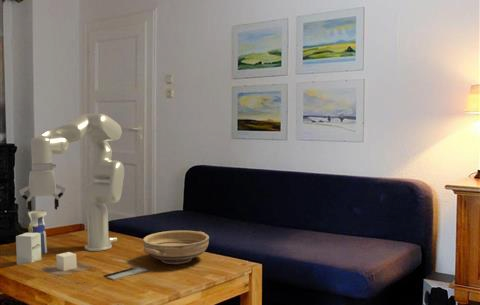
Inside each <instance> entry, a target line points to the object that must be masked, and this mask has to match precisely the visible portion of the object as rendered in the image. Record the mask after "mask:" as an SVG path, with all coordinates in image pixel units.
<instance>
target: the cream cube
mask: <svg viewBox="0 0 480 305" xmlns="http://www.w3.org/2000/svg"><path fill="white" fill-rule="evenodd" d="M55 256H56V265H57V269H60V270H63V271H66V270H70V269H74V268H77V262H78V260H77V253H74V252H70V251H67V252H63V253H59V254H58V253H57V254H56V255H55Z"/></svg>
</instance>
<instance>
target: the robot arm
mask: <svg viewBox="0 0 480 305" xmlns="http://www.w3.org/2000/svg"><path fill="white" fill-rule="evenodd" d="M122 133H123V130H122V127H121V125H120V124H119V123H118V122H116V121H115V120H114V119H113V118H112V117H110V116H108V115H107V114H104V113H83V114H81V115H79V116H78V117H76V118H75V119H73V120H72V121H71V120H70V122H68V123H66V124H62V125H60V126H57V127H54V128H51V129H48V130H45V131H43V132H42V133H40V134H39V135H37V137H32V138H31V139H30V140H31V141H30V142H31V143H30V145H31V151H30V152H31V170H30V171H29V177H28V185H27V186H26V187H24V188H22V189H20V190H19V192H18V193H20V196H21V197H22V199H24V200H25V201H26V208H27V210H29V211H28V212H30V211H33V208H32V206H33V205H32V199H33V198H34V197H46V196H47V197H50V196H53V197H54V210H58V208H59V204H60V202H59V200H60V198H61V197H63V196H64V194H65V191H66V188H65V187H64V186H61V185H58V184H57V183H56V182H57V181H56V176H55V174H56V173H55V170H53V169H56V168H57V166H56V164H55V163H53V159H52V156H53V155H63V154H65V153H66V152H67V151H68V149H69V146H70V144H69V143H73V142H78V141H79V140H81V139H82V138H84V137H85V136H87V137H88V138H89V140H90V142H91V145H92V146H93V155H92V164H91V167H90V168H91V170H90V174H91V177H92V179H94V180H99V181H93V182H90V183H88V184H87V185H86V186H84V199H85V202H86V215H87V216H86V218H87V244H85V245H84V250H85V251H89V252H98V251H99V252H100V251H105V250H106V251H107V250H110V249H112V247H113V244H112V242H113V243H114V242H117V241H118V238H117V237H116V236H114V237H110V236H109V216H108V215H109V211H108V210H109V209H108V208H107V205H106V204H115V203H119V202H120V199H121V197H122V195H123V194H122V193H123V186H124V179H125V167H124V164H123V163H122V162H121V161H119V160H114V159H113V160H112V156H113V155H112V154H113V150H112V147H111V145H110V144H109V141H110V142H111V141H112V142H113V141H118V140H119V139H120V138H121V137H122ZM102 181H109V182H102ZM57 189H58V190H60V192H59V193H58V194H57ZM27 191H28V194H29V195H28V196H27V195H26V194H25V192H27ZM105 203H106V204H105Z"/></svg>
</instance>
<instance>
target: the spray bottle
mask: <svg viewBox="0 0 480 305" xmlns="http://www.w3.org/2000/svg"><path fill="white" fill-rule="evenodd" d="M47 215H48V214H47V211H46V210H44V209H37V210H32V211H27V216H28V218H29V219H30V223H29V224H28V225H29V226H28V227H27V228H28V233H41V255H43V254H47V253H48V248H47V247H48V245H47V234H46V233H47V232H46V229H45V228H46V227H45V226H46V223H45V216H47Z"/></svg>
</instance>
